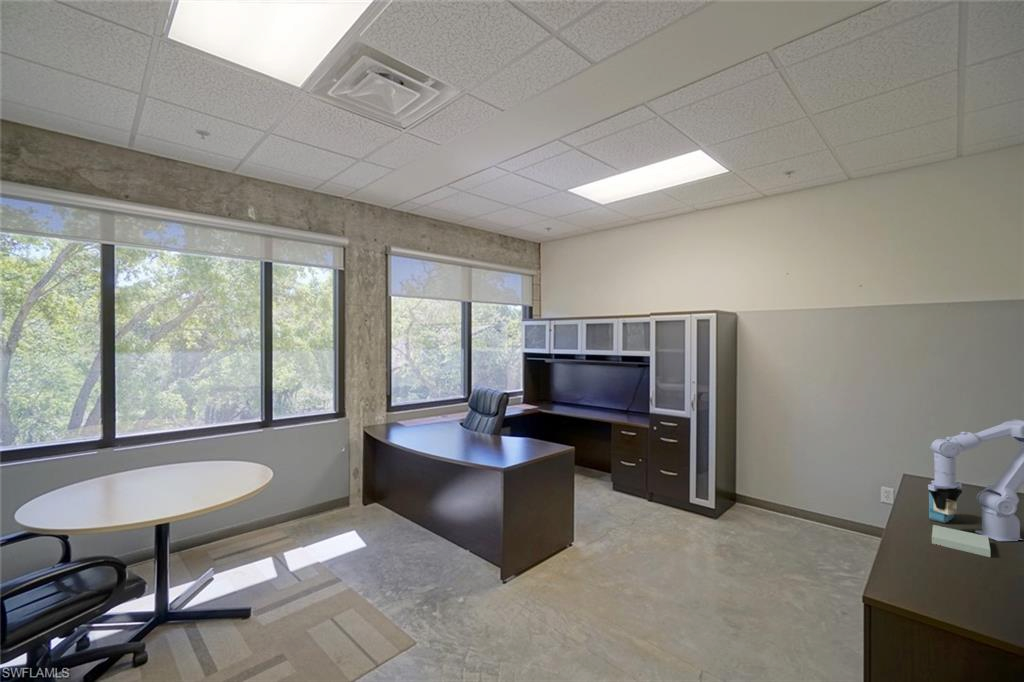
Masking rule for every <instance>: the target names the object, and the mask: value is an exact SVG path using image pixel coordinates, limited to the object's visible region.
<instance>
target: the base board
mask: <svg viewBox="0 0 1024 682" xmlns="http://www.w3.org/2000/svg"><path fill="white" fill-rule="evenodd" d="M989 540H990V538H989V537H988V536H984V535H981V534H978V533H975V532H974V533H973V532H970V531H969V532H968V531H964V530H960V529H954V528H951V527H945V526H940V525H935V524H933V525H932V533H931V544H933V545H936V544H937V546H940V545H941V547H945V548H950V549H953V550H958V551H961V552H966V553H970V554H975V555H979V556H983V557H988V558H991V546H990V541H989Z"/></svg>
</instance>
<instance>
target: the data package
mask: <svg viewBox="0 0 1024 682" xmlns="http://www.w3.org/2000/svg"><path fill="white" fill-rule="evenodd" d="M928 503H929V504H928V515H929V516H928V518H929V520H930V521H934V522H937V521H938V522H939V523H941V522H942V523H943V524H946V522H947V523H948V522H949V520H950V521H951V520H953V519H954V518H955V514H951V515H947V514H943V513H940V512H937V511H934V499H933V497H932V495H931V493H930V492H929V491H928ZM952 518H953V519H952Z"/></svg>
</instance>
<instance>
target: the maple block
mask: <svg viewBox="0 0 1024 682" xmlns="http://www.w3.org/2000/svg"><path fill="white" fill-rule="evenodd" d="M957 506H958V505H957V501H953V500H949V499H946V504H945V509H944V510H942V509H939V508H937V507H936V505H935V501H934V511H937V512H940V513H943V514H947V515H951V514H954V515H956V514H957V512H958V511H957V509H958V507H957Z"/></svg>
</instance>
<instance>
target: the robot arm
mask: <svg viewBox="0 0 1024 682" xmlns="http://www.w3.org/2000/svg"><path fill="white" fill-rule="evenodd" d="M1006 437H1012V438H1013V439H1015V440H1016V441H1017V442H1018V444H1019V446H1020V447H1021V448H1020V450H1019V451H1018V453H1017V455H1016V456H1014V458H1013V459H1012V461H1011V462H1010V464H1009V465H1008V466H1007V467H1006V469H1005V470H1004V472H1003V473H1002V474H1001V476H1000V477H999V479H998V480H997V481H996V483H993V484H990V485H987V486H986V487H985V488H984V489H983V490H981V491H979V492H978V493H977V495H976V501H977V502H978V504H979V505H980V508H981V530H974V533H975V534H979V535H984V536H988V539H992V540H995V541H997V542H1019V541H1018V540H1023V541H1024V539H1023V538H1021V522H1020V519H1019V517H1017V516H1016V515H1015V513H1017V510H1018V504H1019V502H1020V499H1019V496H1018V495H1017V494H1018V492H1019V491H1020V489H1021V488H1022V487H1023V485H1024V420H1022V419H1018V418H1016V419H1012V420H1010V421H1004V422H1002V423H1001V424H999V425H995V426H992V427H989V428H987V429H984V430H981V431H978V432H974V433H973V432H969V431H967V432H966V431H960V432H959V434H957V435H954V436H947V437H945V439H942V438H937V439H935V440H933V441H932V442H931V445H929V448H930V450H931V451H932V453H933V457H934V459H933V461H934V462H933V466H934V467H933V469H934V475H933V476H934V480H930V482H931V483H929V484H928V485H927V488H928V489H927V490H928V493H929V492H930V493H931V495H932V497H933V499H934V501H935V505H936V507H937V508H939V509H942V510H944V509H945V504H946V499H949V500H953V501H956V502H957V500H958V498H959V497H960V495H961V494H962V493H963V490H962V487H963V485H962V482H961V481H957V480H956V479H957V476H956V475H957V474H956V473H957V471H956V465H957V463H956V462H957V461H956V460H957V459H956V457H958V456H959V455H960V453H962V452H965V451H969V450H973V449H976V448H979V447H981V444H982V443H985V442H989V441H993V440H997V439H1000V438H1006Z"/></svg>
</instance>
